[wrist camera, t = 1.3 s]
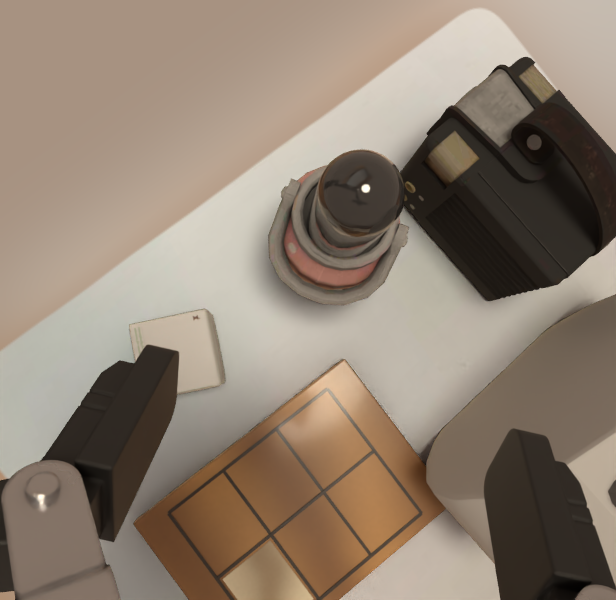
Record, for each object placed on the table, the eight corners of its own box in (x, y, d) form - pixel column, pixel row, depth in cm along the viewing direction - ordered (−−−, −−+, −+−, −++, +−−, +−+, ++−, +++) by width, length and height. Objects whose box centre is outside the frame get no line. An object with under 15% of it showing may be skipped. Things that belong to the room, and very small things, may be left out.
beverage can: (348, 329, 45) (380, 319, 33) (251, 290, 45) (249, 266, 33) (387, 225, 46) (432, 180, 34) (294, 187, 46) (306, 128, 34)
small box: (141, 326, 44) (126, 322, 39) (213, 312, 44) (208, 306, 40) (154, 398, 43) (141, 403, 38) (227, 383, 44) (223, 386, 39)
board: (246, 669, 42) (246, 679, 41) (136, 519, 42) (132, 524, 41) (448, 498, 45) (454, 502, 43) (342, 358, 45) (345, 358, 44)
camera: (470, 105, 48) (565, -7, 33) (577, 226, 48) (721, 167, 33) (378, 183, 47) (435, 102, 32) (488, 308, 46) (597, 285, 32)
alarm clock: (462, 539, 44) (626, 685, 25) (400, 468, 44) (514, 556, 25) (641, 361, 47) (915, 364, 27) (582, 295, 47) (813, 251, 28)
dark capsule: (303, 253, 33) (317, 221, 25) (310, 182, 34) (326, 129, 26) (375, 262, 34) (411, 233, 26) (381, 191, 34) (419, 141, 26)
